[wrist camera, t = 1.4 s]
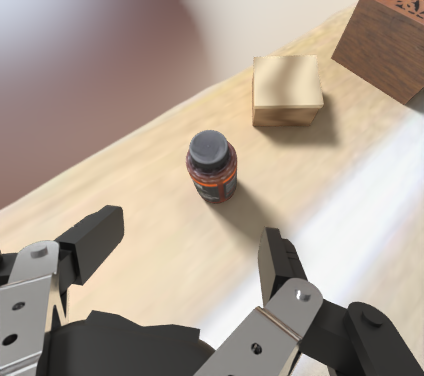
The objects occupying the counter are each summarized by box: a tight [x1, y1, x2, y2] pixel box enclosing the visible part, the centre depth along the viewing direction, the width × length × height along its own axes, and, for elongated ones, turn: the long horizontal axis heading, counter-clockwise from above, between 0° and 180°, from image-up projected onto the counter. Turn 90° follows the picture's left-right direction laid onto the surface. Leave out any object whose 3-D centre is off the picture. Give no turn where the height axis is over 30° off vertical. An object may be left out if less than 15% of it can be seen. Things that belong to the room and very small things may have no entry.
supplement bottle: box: [186, 130, 237, 203], centre depth 27 cm, size 6×6×11 cm
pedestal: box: [252, 55, 324, 126], centre depth 34 cm, size 9×9×5 cm
